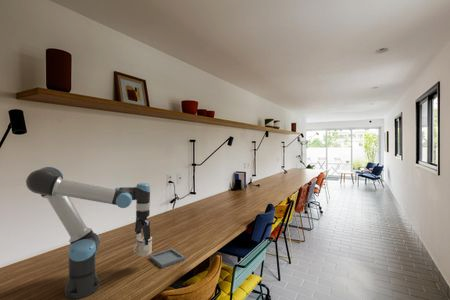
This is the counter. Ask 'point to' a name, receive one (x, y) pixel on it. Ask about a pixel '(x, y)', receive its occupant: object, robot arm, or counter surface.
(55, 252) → the counter surface
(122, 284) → the counter surface
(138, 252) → the teacup with lid
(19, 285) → the counter surface
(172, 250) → the cup tray
